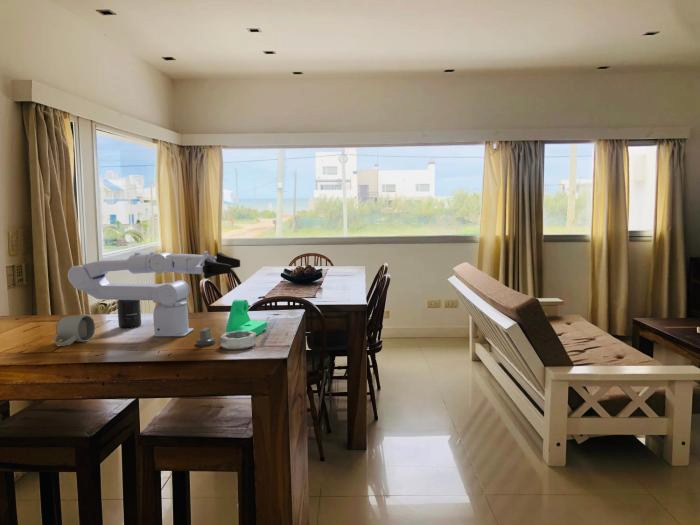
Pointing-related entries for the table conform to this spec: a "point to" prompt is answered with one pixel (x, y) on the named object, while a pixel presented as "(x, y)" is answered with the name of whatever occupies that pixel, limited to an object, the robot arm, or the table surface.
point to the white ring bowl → (238, 340)
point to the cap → (205, 338)
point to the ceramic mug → (74, 329)
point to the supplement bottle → (129, 313)
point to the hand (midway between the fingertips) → (235, 266)
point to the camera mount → (243, 319)
